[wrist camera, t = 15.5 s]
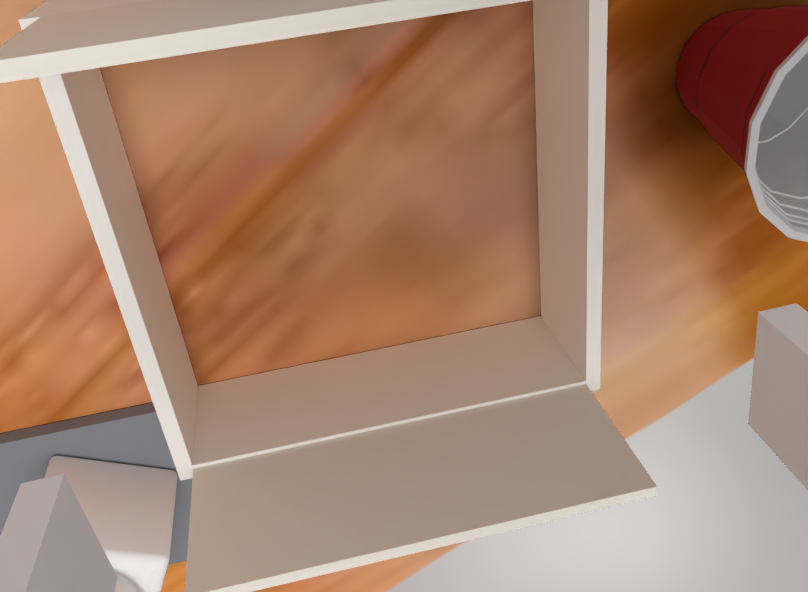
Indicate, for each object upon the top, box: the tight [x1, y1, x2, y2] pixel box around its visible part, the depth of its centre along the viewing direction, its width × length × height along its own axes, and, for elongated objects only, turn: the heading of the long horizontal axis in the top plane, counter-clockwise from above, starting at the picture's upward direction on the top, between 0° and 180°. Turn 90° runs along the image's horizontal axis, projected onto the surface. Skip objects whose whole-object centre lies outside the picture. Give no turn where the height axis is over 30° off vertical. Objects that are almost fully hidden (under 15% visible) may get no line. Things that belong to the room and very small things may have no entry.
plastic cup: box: [676, 5, 808, 242], centre depth 36 cm, size 11×11×12 cm
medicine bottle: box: [44, 456, 177, 592], centre depth 41 cm, size 7×7×12 cm
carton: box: [0, 0, 657, 592], centre depth 34 cm, size 23×23×15 cm
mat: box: [0, 402, 193, 565], centre depth 47 cm, size 12×12×1 cm
